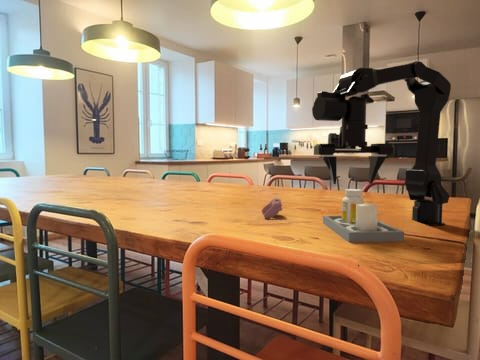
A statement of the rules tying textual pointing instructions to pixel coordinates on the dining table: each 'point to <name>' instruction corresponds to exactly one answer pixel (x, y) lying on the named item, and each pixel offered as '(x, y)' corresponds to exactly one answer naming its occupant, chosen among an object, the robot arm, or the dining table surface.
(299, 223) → the dining table surface
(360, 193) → the supplement bottle
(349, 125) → the robot arm
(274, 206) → the video game controller
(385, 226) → the tray
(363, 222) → the jaw peg
